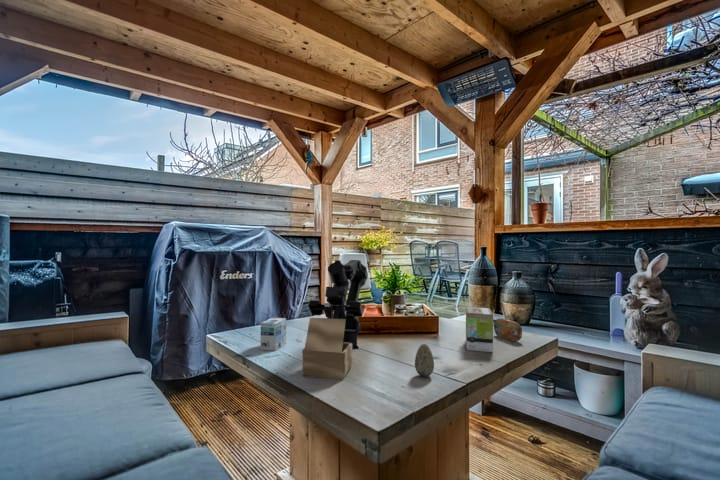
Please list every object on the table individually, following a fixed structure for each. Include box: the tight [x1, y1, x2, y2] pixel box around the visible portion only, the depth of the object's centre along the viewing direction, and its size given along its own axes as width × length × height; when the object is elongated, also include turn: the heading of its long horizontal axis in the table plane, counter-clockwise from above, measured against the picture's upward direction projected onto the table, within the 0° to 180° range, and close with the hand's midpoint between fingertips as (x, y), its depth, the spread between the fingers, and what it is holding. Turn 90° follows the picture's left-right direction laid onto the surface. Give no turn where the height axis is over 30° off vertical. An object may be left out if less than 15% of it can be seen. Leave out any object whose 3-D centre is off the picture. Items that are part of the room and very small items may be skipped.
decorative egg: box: [414, 343, 435, 378], centre depth 108 cm, size 6×6×10 cm
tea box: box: [465, 306, 494, 353], centre depth 141 cm, size 15×10×15 cm, turn 164°
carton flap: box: [303, 317, 346, 353], centre depth 110 cm, size 10×12×1 cm
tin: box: [493, 318, 523, 343], centre depth 151 cm, size 15×3×8 cm, turn 17°
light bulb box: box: [260, 317, 287, 352], centre depth 141 cm, size 11×7×11 cm, turn 168°
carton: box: [301, 342, 353, 380], centre depth 113 cm, size 12×14×8 cm
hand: (330, 329), depth 116 cm, fingers closed
